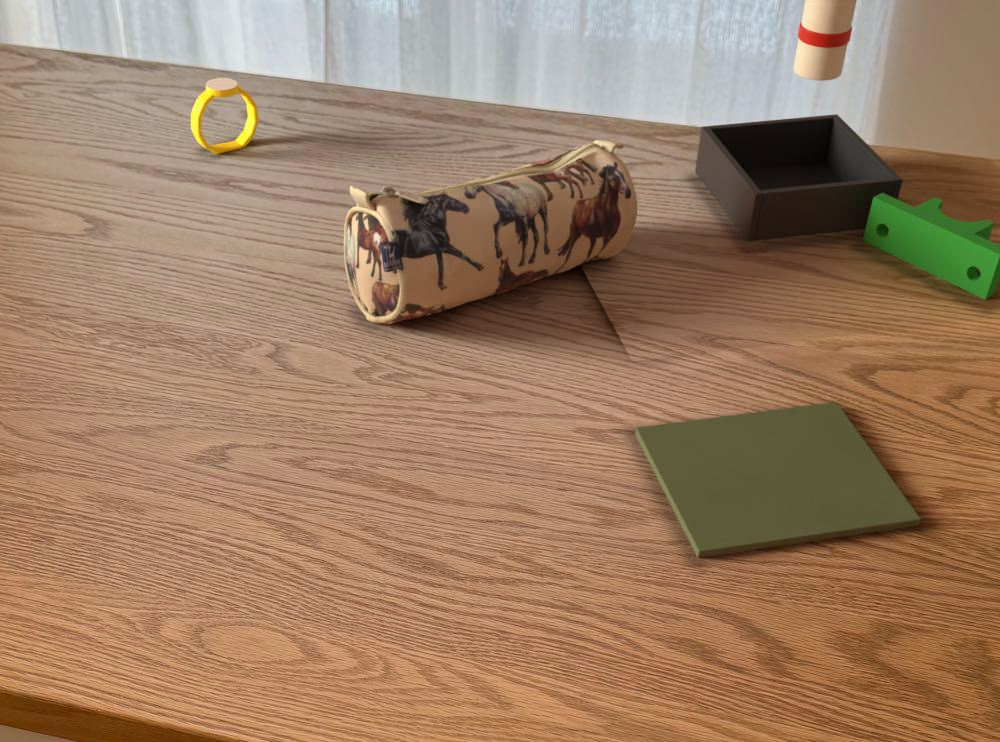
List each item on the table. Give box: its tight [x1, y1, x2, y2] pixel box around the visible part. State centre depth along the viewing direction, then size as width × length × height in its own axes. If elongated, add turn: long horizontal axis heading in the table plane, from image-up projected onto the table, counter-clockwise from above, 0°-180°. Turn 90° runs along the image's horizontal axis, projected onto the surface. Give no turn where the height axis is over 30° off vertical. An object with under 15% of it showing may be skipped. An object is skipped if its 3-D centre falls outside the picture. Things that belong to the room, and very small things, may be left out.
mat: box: [634, 401, 922, 559], centre depth 77 cm, size 14×12×1 cm
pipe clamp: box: [862, 193, 1000, 301], centre depth 95 cm, size 11×4×5 cm, turn 39°
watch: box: [190, 77, 259, 155], centre depth 109 cm, size 6×3×6 cm, turn 127°
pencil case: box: [343, 139, 638, 325], centre depth 91 cm, size 22×8×10 cm, turn 120°
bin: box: [695, 114, 904, 242], centre depth 102 cm, size 12×12×5 cm
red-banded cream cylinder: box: [792, 0, 858, 82], centre depth 91 cm, size 4×4×10 cm
